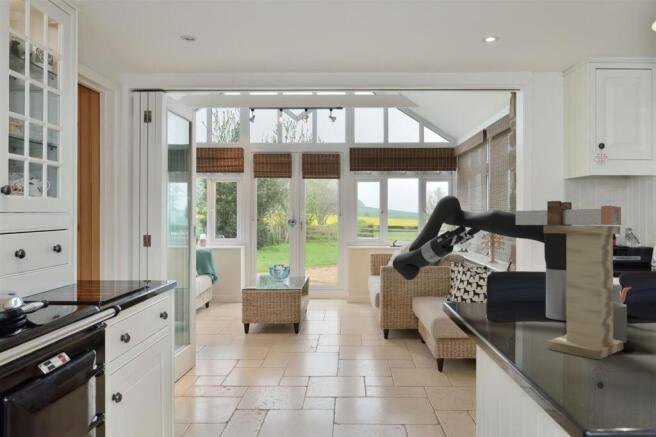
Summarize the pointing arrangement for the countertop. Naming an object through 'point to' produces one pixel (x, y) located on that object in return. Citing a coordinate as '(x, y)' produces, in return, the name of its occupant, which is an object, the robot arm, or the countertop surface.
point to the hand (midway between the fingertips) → (472, 227)
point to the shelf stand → (586, 286)
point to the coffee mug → (620, 322)
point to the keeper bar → (573, 216)
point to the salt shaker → (617, 293)
